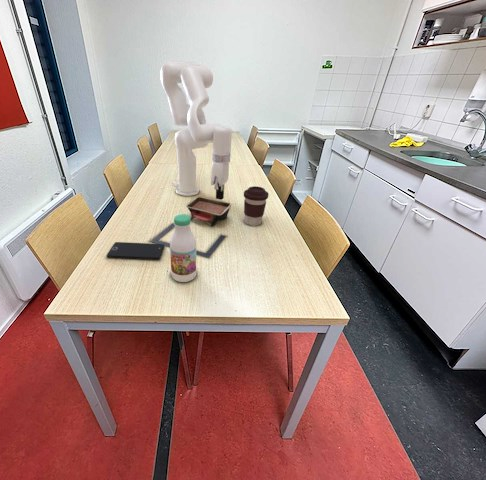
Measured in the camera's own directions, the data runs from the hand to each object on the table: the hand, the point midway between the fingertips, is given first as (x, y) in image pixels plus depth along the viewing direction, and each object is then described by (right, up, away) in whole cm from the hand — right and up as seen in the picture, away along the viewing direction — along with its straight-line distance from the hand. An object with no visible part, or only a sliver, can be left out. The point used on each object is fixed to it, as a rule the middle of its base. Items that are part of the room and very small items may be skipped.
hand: (219, 198), depth 124 cm
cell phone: (-30, -23, -29) cm, 48 cm away
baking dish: (-5, -10, -6) cm, 13 cm away
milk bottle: (-13, -30, -39) cm, 51 cm away
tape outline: (-12, -18, -20) cm, 30 cm away
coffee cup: (+14, -11, -7) cm, 19 cm away
